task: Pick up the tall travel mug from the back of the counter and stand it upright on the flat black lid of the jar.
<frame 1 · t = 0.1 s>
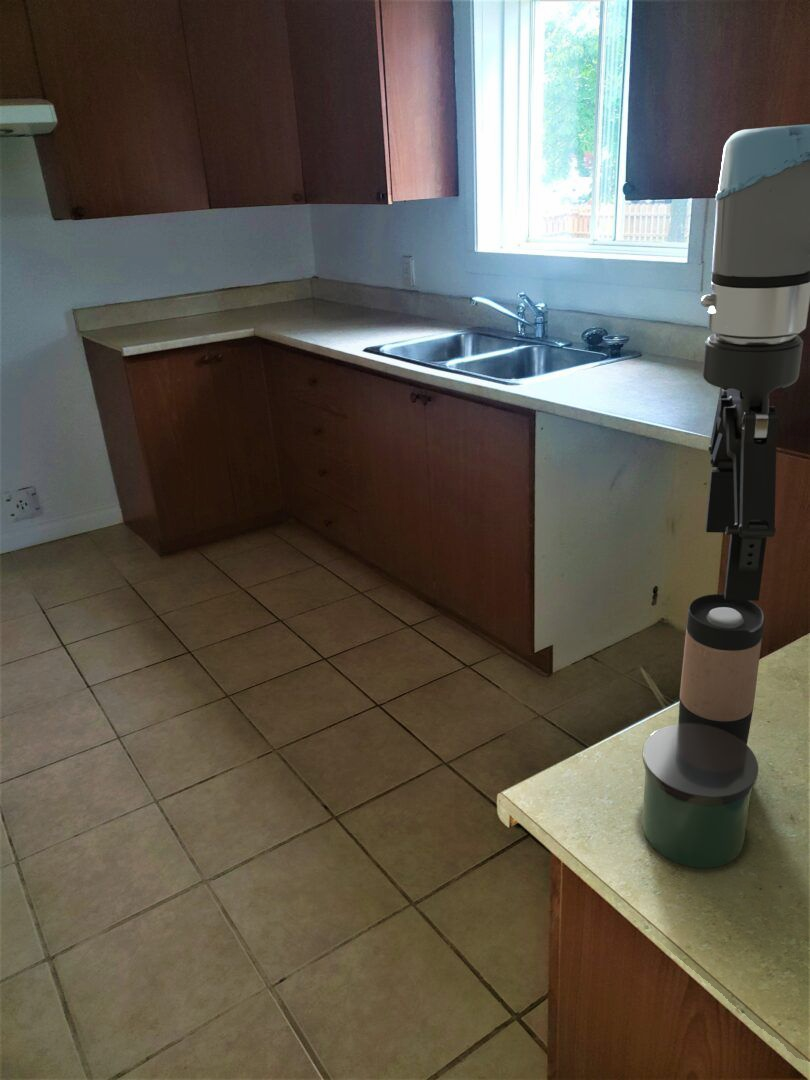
hand: (729, 562, 77), 29 cm above the countertop, tool pointing down, fingers open, 13 cm apart
jar: (692, 829, 85), on the countertop
travel mug: (709, 762, 94), on the countertop
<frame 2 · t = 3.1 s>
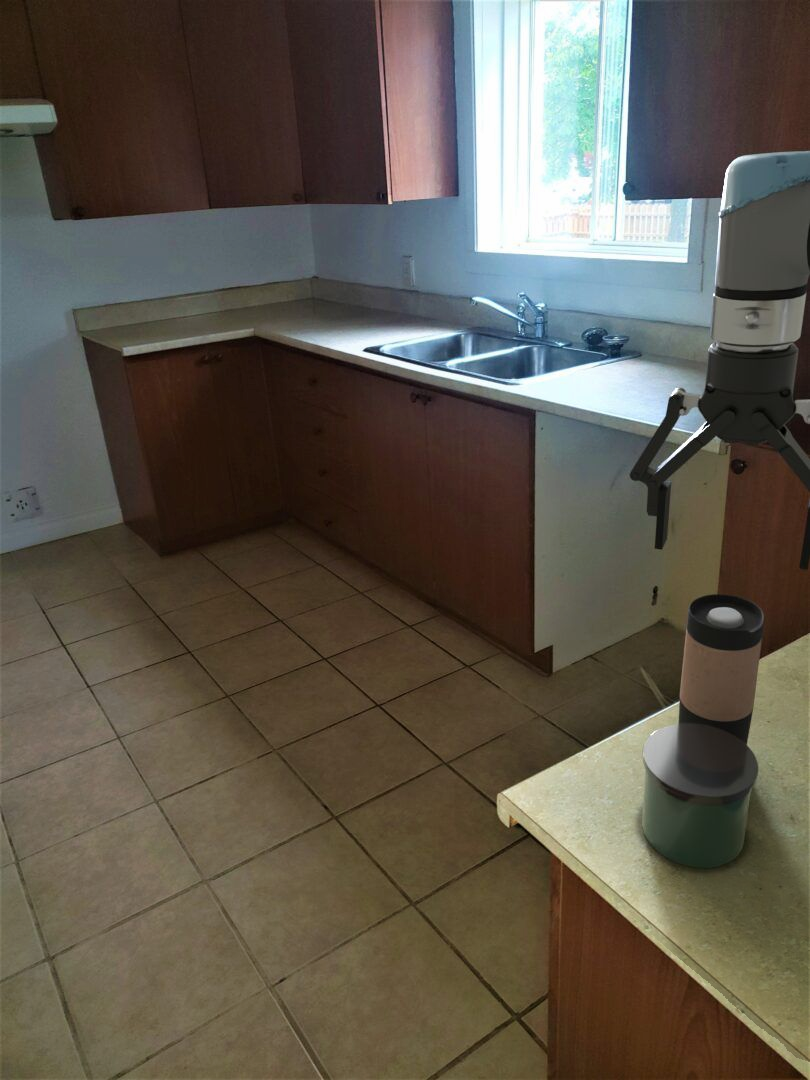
hand: (729, 553, 82), 27 cm above the countertop, tool pointing down, fingers open, 13 cm apart
nothing on the countertop moved.
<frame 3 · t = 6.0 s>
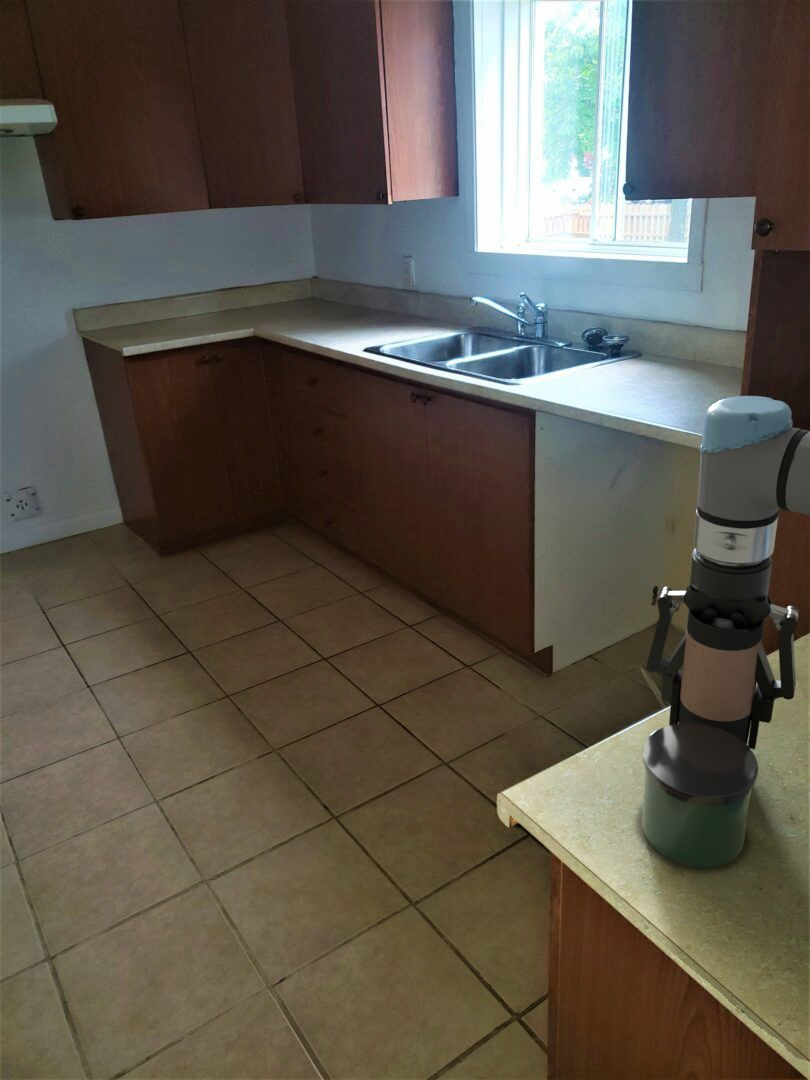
hand: (712, 732, 92), 4 cm above the countertop, tool pointing down, fingers closed on travel mug, 8 cm apart
travel mug: (709, 762, 94), on the countertop, touching gripper
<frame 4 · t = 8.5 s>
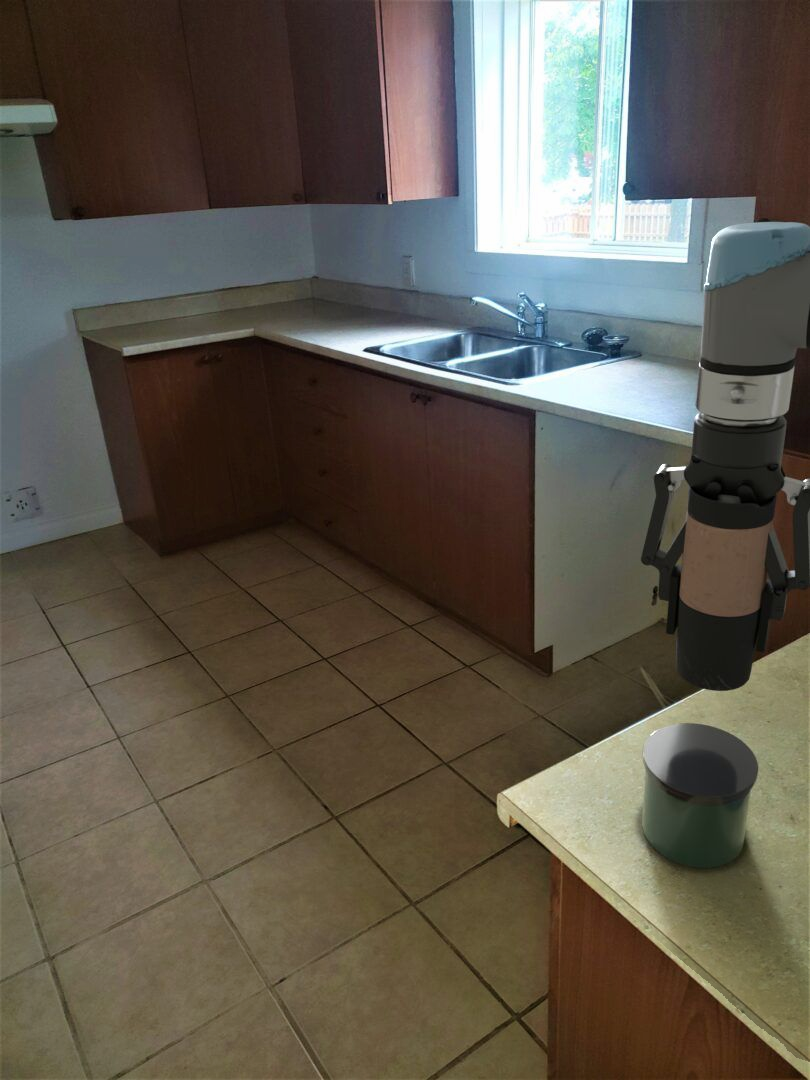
hand: (716, 635, 81), 20 cm above the countertop, tool pointing down, fingers closed on travel mug, 8 cm apart
travel mug: (712, 672, 83), point 16 cm above the countertop, touching gripper
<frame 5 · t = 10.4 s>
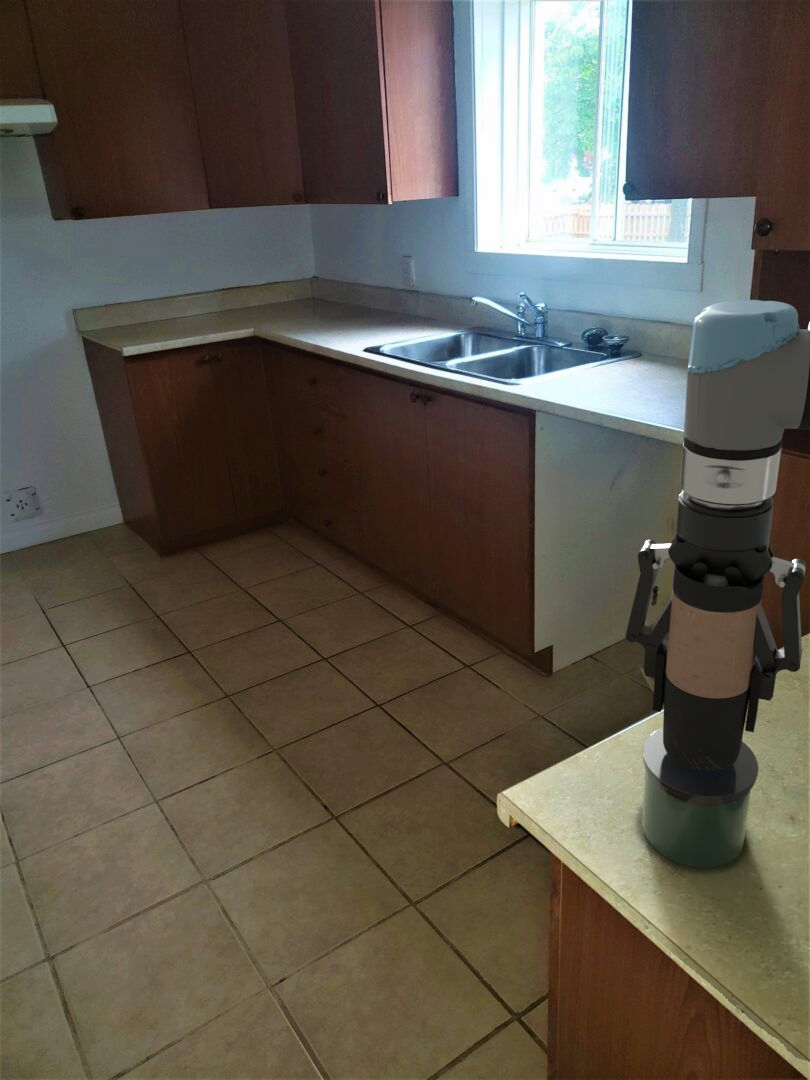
hand: (704, 712, 78), 15 cm above the countertop, tool pointing down, fingers closed on travel mug, 8 cm apart
travel mug: (700, 748, 80), point 11 cm above the countertop, touching gripper
when the fingers open (14 cm above the countertop, at t = 11.3 s): travel mug stays where it is, resting on jar.
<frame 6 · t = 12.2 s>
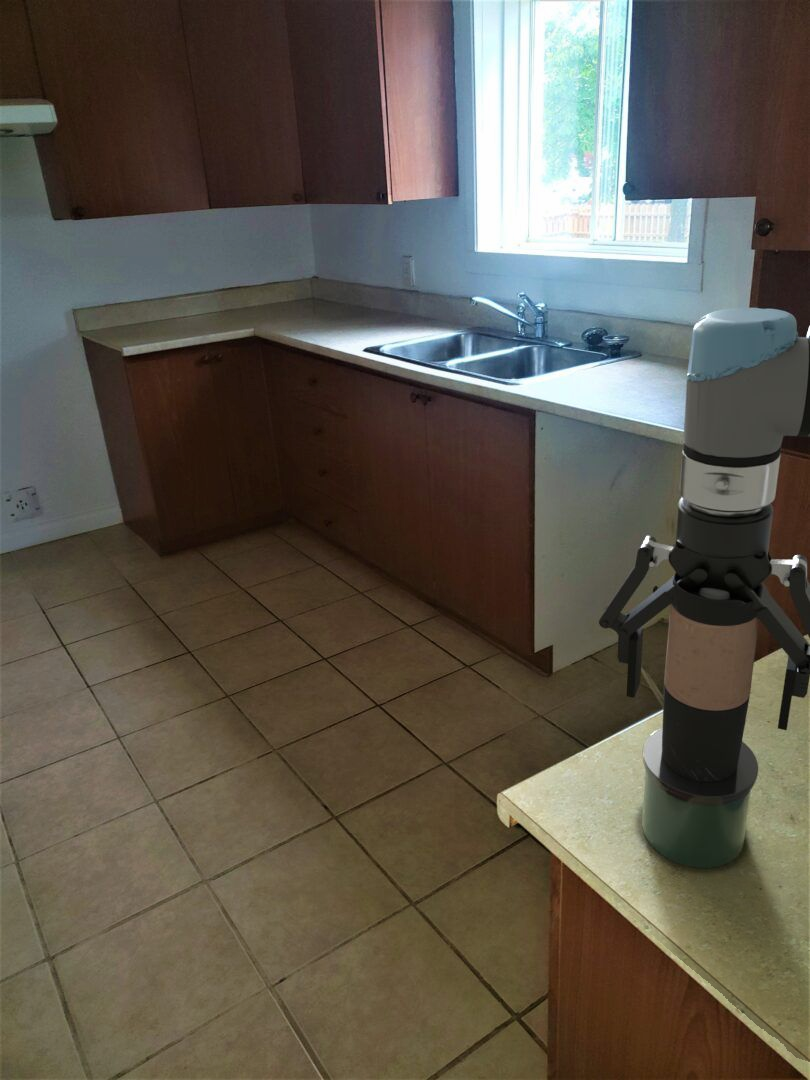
hand: (705, 704, 78), 16 cm above the countertop, tool pointing down, fingers open, 13 cm apart
travel mug: (699, 759, 81), point 9 cm above the countertop, touching jar
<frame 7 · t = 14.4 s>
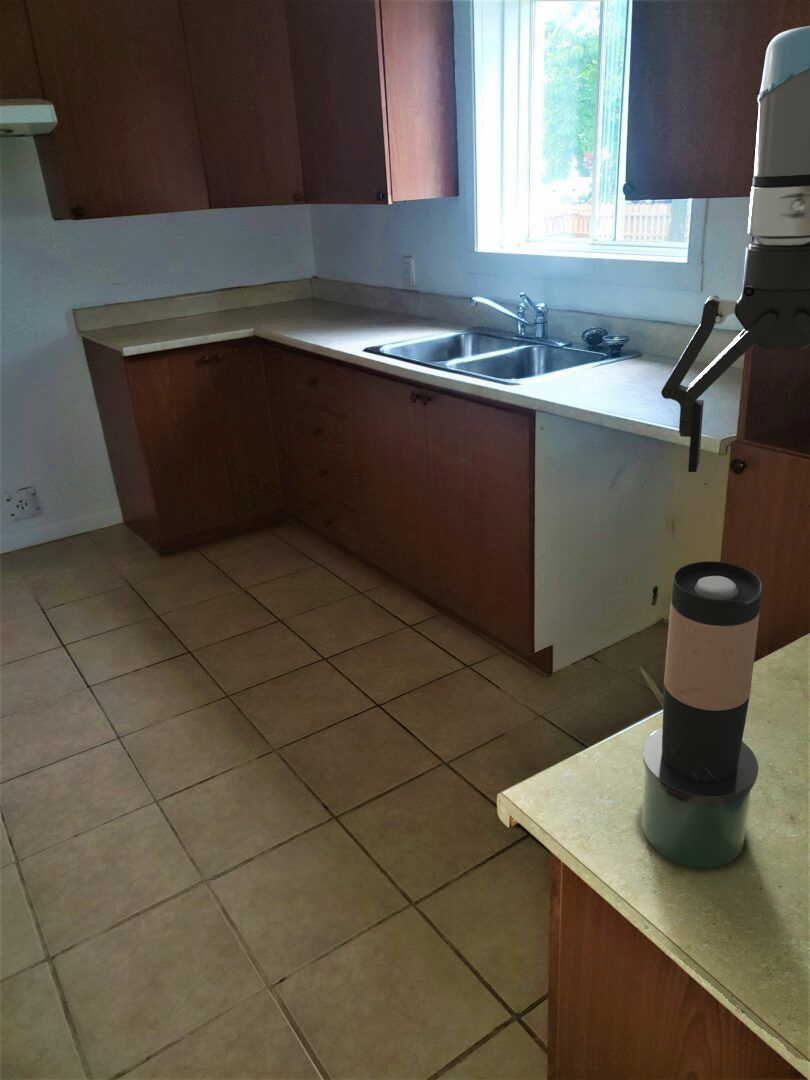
hand: (768, 472, 78), 35 cm above the countertop, tool pointing down, fingers open, 13 cm apart
nothing on the countertop moved.
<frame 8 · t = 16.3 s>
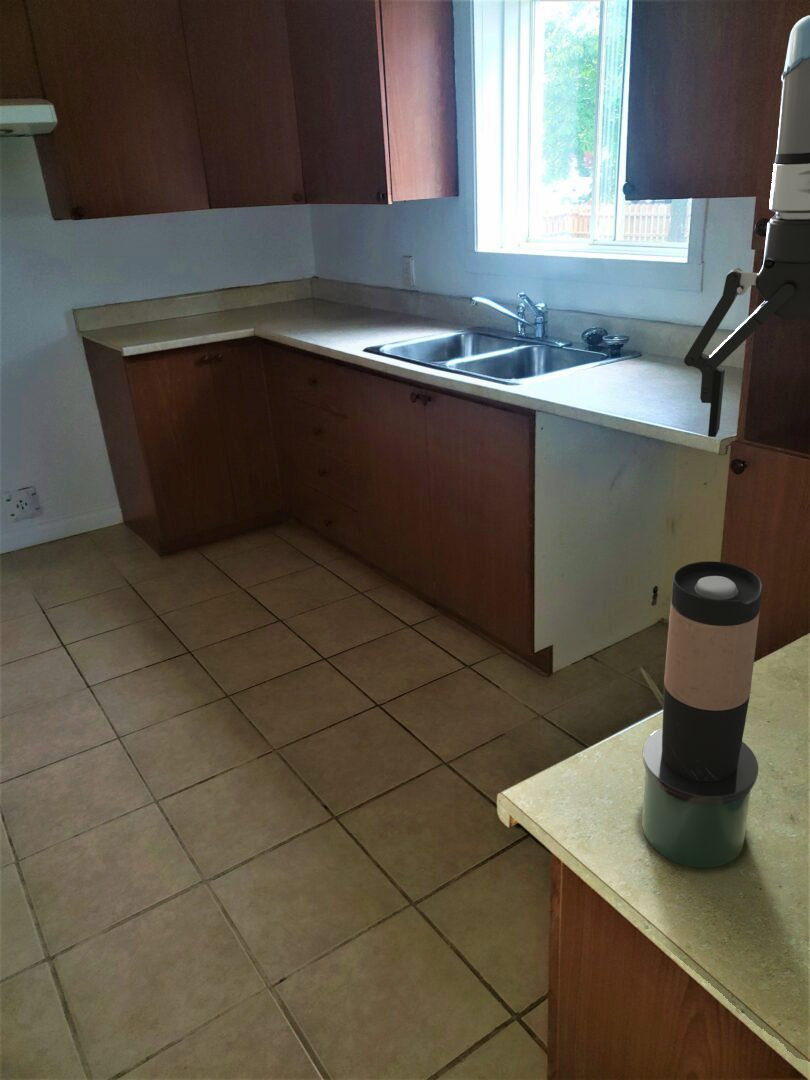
hand: (784, 438, 83), 37 cm above the countertop, tool pointing down, fingers open, 13 cm apart
nothing on the countertop moved.
at the end: travel mug 0.0 cm off-centre on the jar, point 9.4 cm above the jar's base; travel mug tilted 0°; the gripper is holding nothing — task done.
